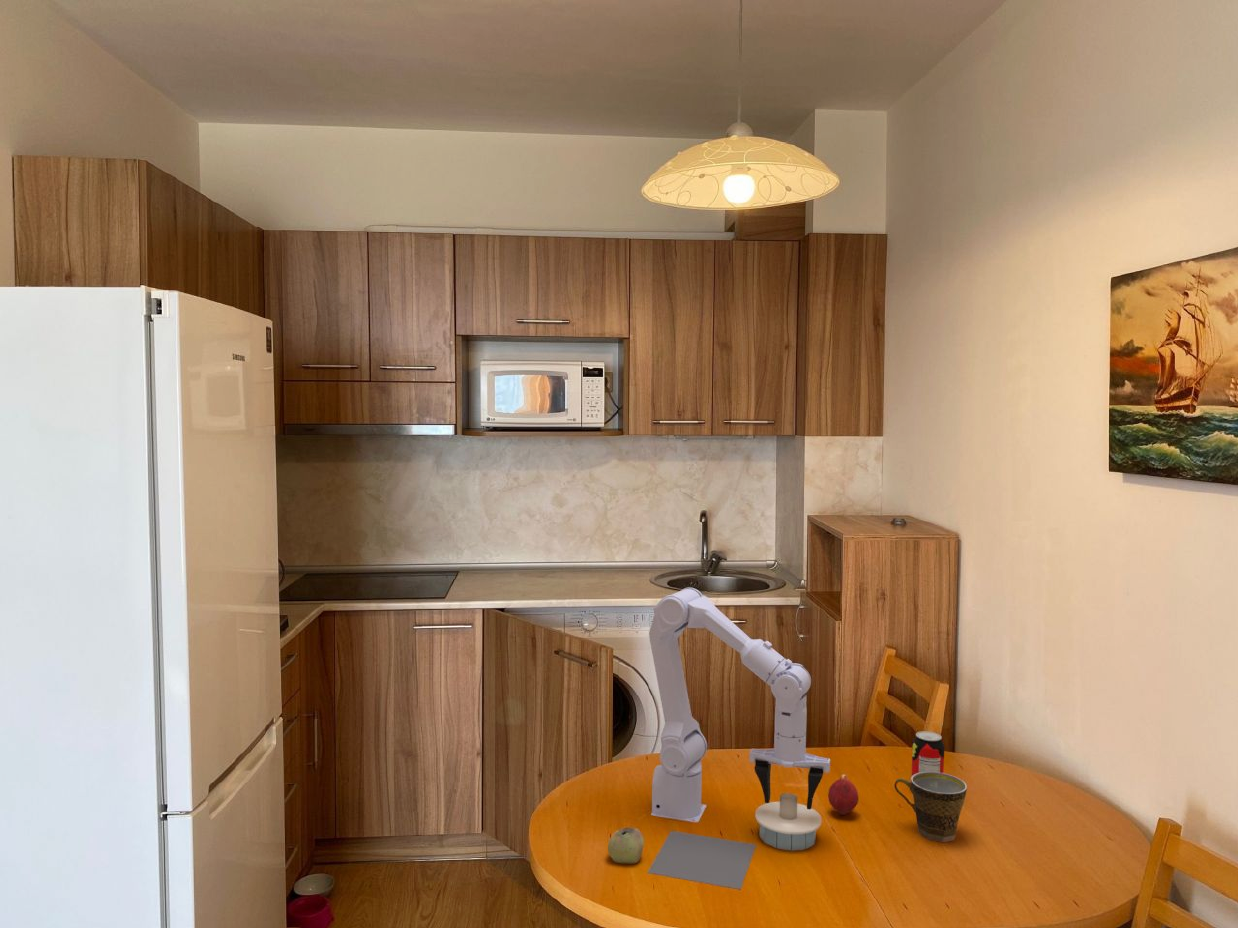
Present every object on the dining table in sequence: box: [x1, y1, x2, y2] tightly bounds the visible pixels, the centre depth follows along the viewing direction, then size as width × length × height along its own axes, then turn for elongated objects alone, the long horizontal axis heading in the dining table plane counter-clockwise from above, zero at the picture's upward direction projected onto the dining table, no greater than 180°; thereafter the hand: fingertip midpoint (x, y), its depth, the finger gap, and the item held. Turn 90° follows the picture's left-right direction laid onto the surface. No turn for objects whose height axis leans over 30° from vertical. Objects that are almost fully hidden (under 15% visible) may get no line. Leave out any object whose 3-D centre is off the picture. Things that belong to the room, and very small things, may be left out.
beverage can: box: [910, 730, 945, 778], centre depth 188 cm, size 6×6×12 cm
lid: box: [754, 792, 822, 834], centre depth 166 cm, size 12×12×4 cm
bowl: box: [759, 824, 817, 852], centre depth 166 cm, size 10×10×4 cm
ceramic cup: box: [893, 772, 968, 843], centre depth 170 cm, size 13×10×10 cm
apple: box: [607, 827, 645, 865], centre depth 158 cm, size 6×8×6 cm
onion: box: [827, 773, 859, 816], centre depth 177 cm, size 6×6×8 cm
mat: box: [647, 830, 757, 890], centre depth 158 cm, size 16×16×1 cm
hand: (788, 803), depth 166 cm, fingers open, 7 cm apart
